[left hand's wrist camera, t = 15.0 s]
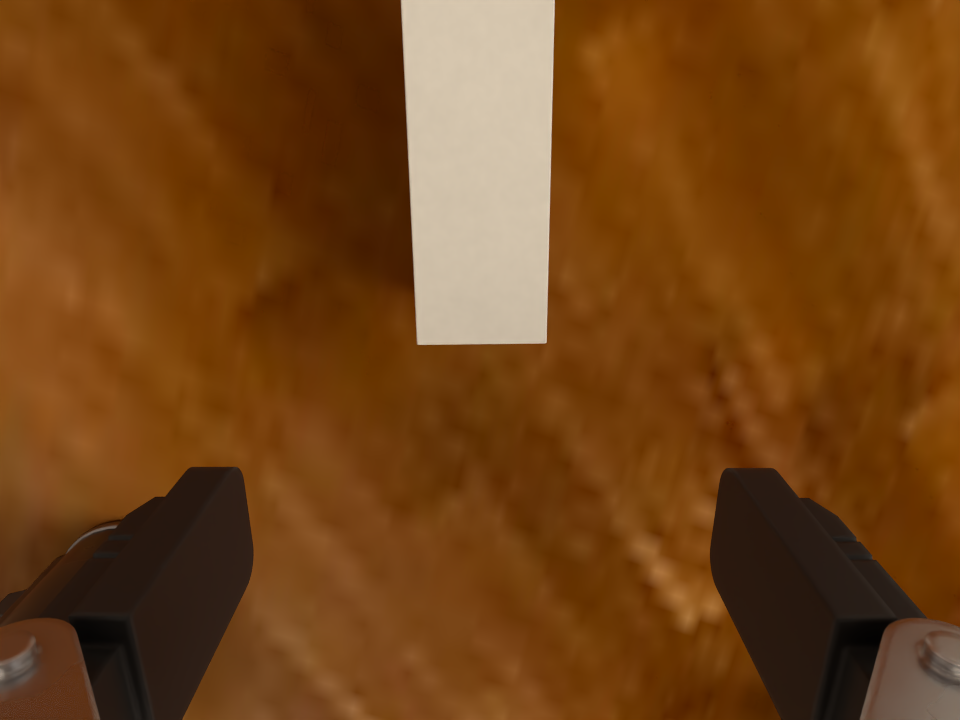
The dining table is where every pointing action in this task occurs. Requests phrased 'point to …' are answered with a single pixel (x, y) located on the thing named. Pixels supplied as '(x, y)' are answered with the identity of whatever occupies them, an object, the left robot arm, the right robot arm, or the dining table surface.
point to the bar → (479, 167)
